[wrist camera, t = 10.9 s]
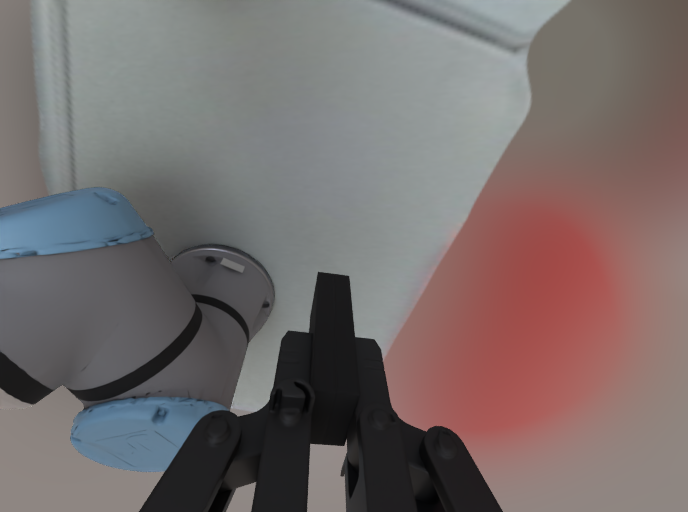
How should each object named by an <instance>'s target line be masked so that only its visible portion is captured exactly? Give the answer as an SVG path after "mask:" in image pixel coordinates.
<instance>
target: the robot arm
mask: <svg viewBox="0 0 688 512" xmlns="http://www.w3.org/2000/svg"><path fill="white" fill-rule="evenodd" d="M153 234H154V232H153V230H152V228H150V227H147V226H146V224H145V223H144V222H143V220H142V219H141V218H140V216H139V215H138V213H137V212H136V211H135V209H134V208H133V206H132V205H131V204H130V202H129V201H128V200H127V199H126V197H124V196H123V195H122V194H121V193H119V192H117V191H115V190H112V189H108V188H102V187H94V188H86V189H80V190H75V191H69V192H65V193H60V194H56V195H51V196H47V197H43V198H39V199H34V200H30V201H26V202H22V203H18V204H15V205H10V206H7V207H3V208H0V409H23V408H29V407H31V406H33V405H34V404H36V403H37V402H38V401H40V400H41V399H43V398H44V397H45V396H47V395H48V394H50V393H51V392H52V391H54V390H55V389H57V388H58V387H60V386H62V385H63V386H65V387H66V388H67V389H68V390H69V391H70V392H71V393H73V394H74V395H75V396H76V398H78V399H79V400H80V401H81V402H82V403H83V404H84V409H83V411H81V412H79V413H78V414H77V416H76V417H75V419H74V421H73V423H74V424H73V426H72V429H71V437H70V439H71V443H72V445H73V446H74V447H75V449H76V450H77V451H78V452H79V453H81V454H82V455H84V456H85V457H87V458H89V459H91V460H93V461H95V462H98V463H100V464H103V465H106V466H110V467H114V468H118V469H123V470H130V471H140V472H161V471H165V472H164V474H163V476H162V477H161V479H160V480H159V482H158V483H157V485H156V486H155V488H154V489H153V491H152V492H151V494H150V496H149V497H148V499H147V501H146V502H145V503H144V505H143V506H142V508H141V509H140V511H139V512H226V510H227V508H228V506H229V503H230V501H231V499H232V497H233V495H234V492H235V490H236V488H238V487H241V486H244V485H248V484H251V483H254V482H256V488H255V493H254V499H253V505H252V511H251V512H307V499H308V498H307V497H308V477H309V456H310V444H322V445H337V446H344V445H345V442H346V439H347V454H346V457H345V460H344V463H343V466H342V470H341V476H344V474H345V489H346V490H345V491H346V512H503V511H502V509H501V508H500V506H499V504H498V503H497V501H496V499H495V497H494V495H493V494H492V492H491V490H490V488H489V487H488V485H487V483H486V482H485V480H484V478H483V476H482V475H481V473H480V471H479V469H478V468H477V466H476V464H475V462H474V461H473V459H472V457H471V456H470V454H469V452H468V450H467V449H466V447H465V445H464V443H463V442H462V440H461V439H460V438H459V437H458V435H457V434H455V433H454V432H453V431H451V430H450V429H448V428H445V427H442V426H434V427H432V428H430V429H428V431H427V432H426V431H423V430H421V429H418V428H415V427H413V426H411V425H409V424H407V423H405V422H404V421H403V420H401V419H400V418H399V417H398V415H397V414H396V412H395V411H394V410H393V409H392V406H391V403H390V398H389V392H388V386H387V381H386V376H385V371H384V365H383V359H382V353H381V349H380V347H379V346H378V344H377V343H376V341H375V340H374V339H367V338H358V337H355V332H354V322H353V311H352V301H351V290H350V279H349V276H345V275H338V274H330V273H323V272H318V275H317V281H316V287H315V293H314V298H313V304H312V310H311V316H310V328H309V333H306V332H297V331H288V332H287V333H286V334H285V336H284V337H283V338H282V340H281V346H280V352H279V357H278V363H277V369H276V375H275V380H274V386H273V389H272V391H271V394H270V400H269V402H268V403H267V404H266V405H265V406H264V407H263V408H262V409H260V410H258V411H257V412H254V413H251V414H248V415H243V416H239V417H237V415H235V414H234V413H232V412H230V408H231V404H232V400H233V397H234V393H235V389H236V386H237V382H238V379H239V375H240V372H241V368H242V365H243V361H244V358H245V354H246V350H247V347H248V343H249V342H250V340H251V339H252V338H253V337H254V336H255V334H256V333H257V332H258V331H259V330H260V328H261V327H262V326H263V325H264V323H265V322H266V321H267V319H268V317H269V315H270V313H271V310H272V306H273V302H274V287H273V283H272V281H271V278H270V276H269V275H268V273H267V272H266V270H265V269H264V268H263V266H262V265H261V264H260V263H259V262H257V261H256V260H255V259H254V258H252V257H251V256H249V255H248V254H246V253H244V252H242V251H240V250H237V249H235V248H231V247H228V246H223V245H211V244H209V245H200V246H195V247H192V248H189V249H187V250H185V251H183V252H181V253H180V254H179V255H177V256H176V257H175V258H174V259H173V260H172V261H171V263H170V261H169V260H168V258H167V256H166V255H165V253H164V252H163V250H162V249H161V247H160V246H159V244H158V242H157V241H156V239H155V238H154V236H153Z"/></svg>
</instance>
